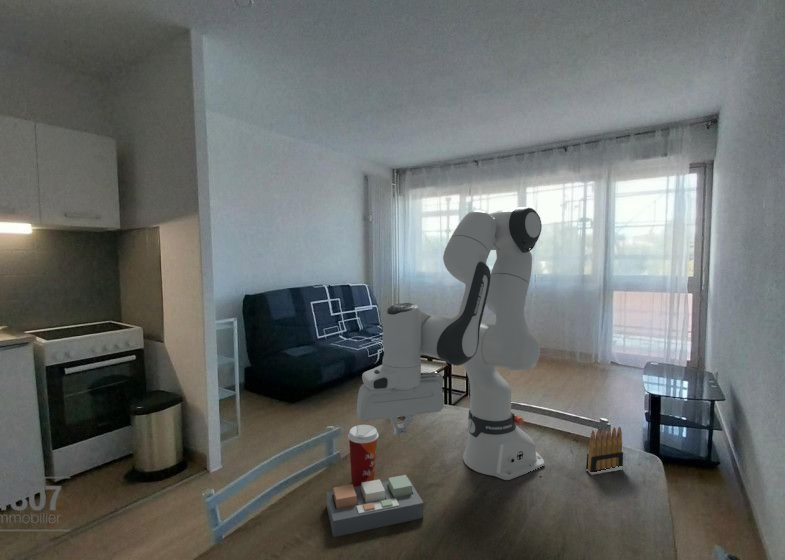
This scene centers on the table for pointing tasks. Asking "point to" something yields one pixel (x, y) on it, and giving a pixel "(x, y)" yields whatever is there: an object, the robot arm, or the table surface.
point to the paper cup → (362, 453)
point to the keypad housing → (373, 512)
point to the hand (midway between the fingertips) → (400, 433)
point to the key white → (372, 491)
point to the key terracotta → (344, 496)
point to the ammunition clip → (605, 450)
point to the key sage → (399, 486)
